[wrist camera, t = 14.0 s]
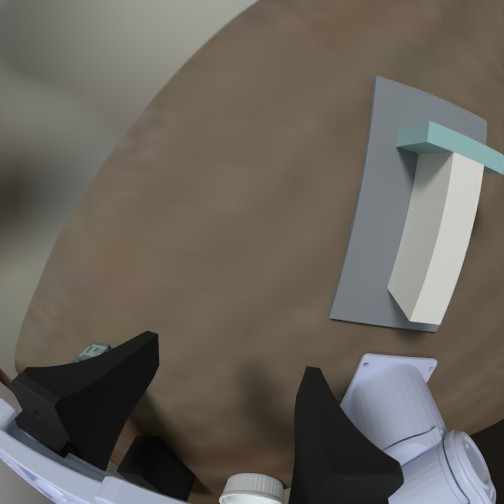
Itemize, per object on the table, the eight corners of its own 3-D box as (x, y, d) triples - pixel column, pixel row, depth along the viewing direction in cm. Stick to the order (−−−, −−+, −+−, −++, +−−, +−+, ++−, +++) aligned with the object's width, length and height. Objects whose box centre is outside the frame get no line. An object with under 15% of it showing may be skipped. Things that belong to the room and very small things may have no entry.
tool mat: (433, 328, 21) (436, 332, 20) (328, 314, 21) (329, 318, 21) (483, 121, 15) (487, 121, 15) (374, 78, 16) (376, 75, 15)
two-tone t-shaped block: (431, 295, 19) (459, 326, 14) (365, 284, 20) (383, 317, 15) (465, 155, 16) (505, 156, 11) (398, 130, 16) (429, 120, 12)
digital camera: (129, 434, 31) (108, 469, 24) (159, 436, 30) (139, 475, 23) (166, 473, 33) (152, 505, 27) (195, 475, 32) (183, 511, 25)
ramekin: (227, 490, 33) (221, 511, 28) (222, 466, 30) (215, 490, 26) (284, 495, 31) (282, 517, 27) (289, 472, 29) (287, 498, 25)
